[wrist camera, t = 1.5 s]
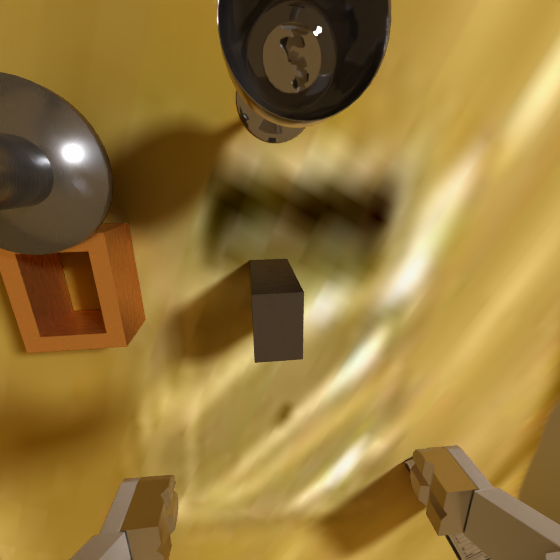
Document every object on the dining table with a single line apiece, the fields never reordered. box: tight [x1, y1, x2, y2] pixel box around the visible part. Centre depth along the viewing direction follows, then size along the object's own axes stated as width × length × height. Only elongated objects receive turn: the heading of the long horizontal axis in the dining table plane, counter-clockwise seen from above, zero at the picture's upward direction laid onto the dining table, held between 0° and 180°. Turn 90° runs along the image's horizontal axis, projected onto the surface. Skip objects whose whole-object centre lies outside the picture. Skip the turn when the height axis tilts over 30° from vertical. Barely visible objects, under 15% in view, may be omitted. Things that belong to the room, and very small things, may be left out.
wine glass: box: [217, 0, 391, 143], centre depth 21 cm, size 8×8×15 cm
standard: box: [0, 72, 145, 353], centre depth 20 cm, size 21×12×20 cm, turn 1°
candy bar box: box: [404, 458, 491, 560], centre depth 39 cm, size 11×5×16 cm, turn 32°
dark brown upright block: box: [250, 259, 304, 363], centre depth 29 cm, size 6×4×10 cm, turn 1°
